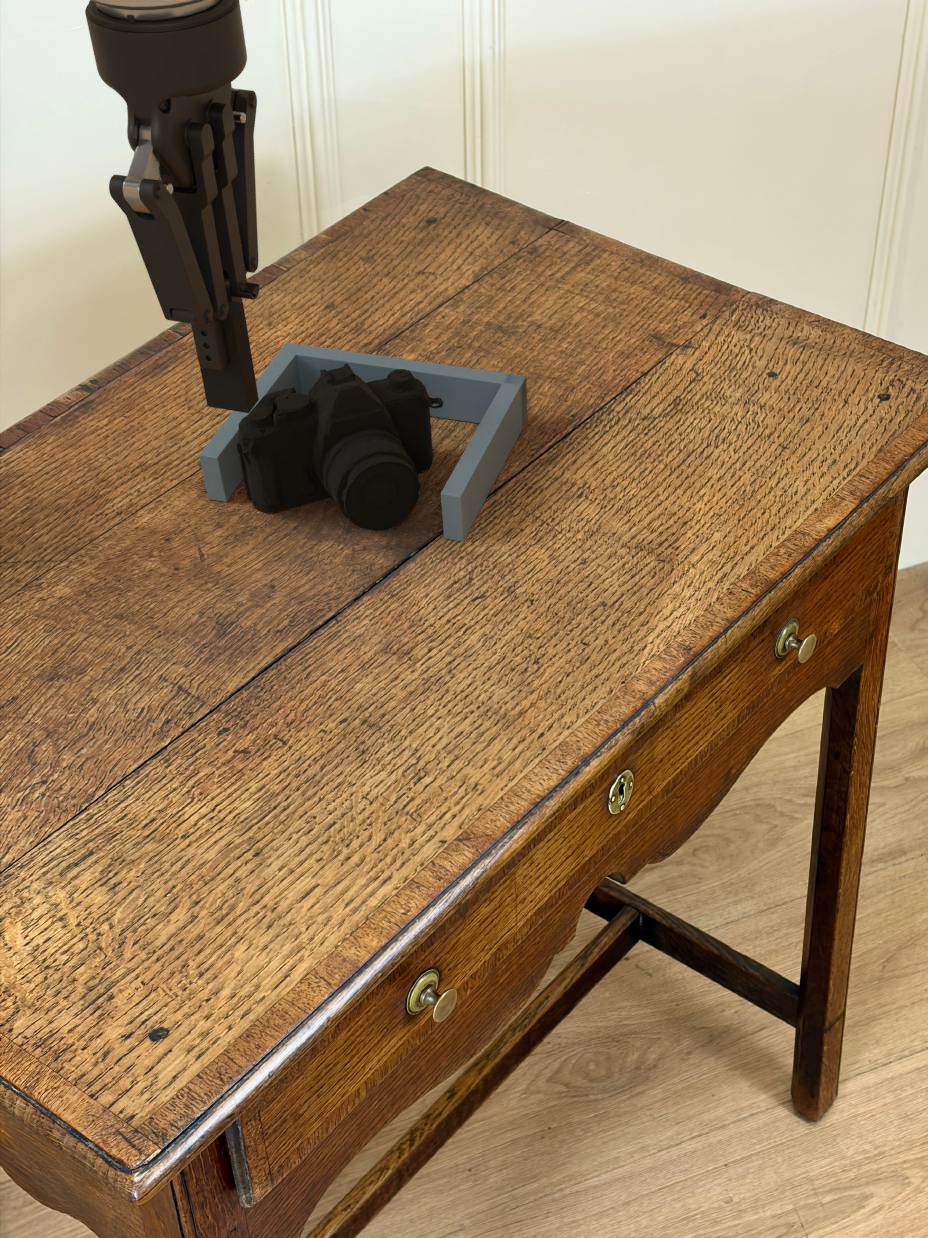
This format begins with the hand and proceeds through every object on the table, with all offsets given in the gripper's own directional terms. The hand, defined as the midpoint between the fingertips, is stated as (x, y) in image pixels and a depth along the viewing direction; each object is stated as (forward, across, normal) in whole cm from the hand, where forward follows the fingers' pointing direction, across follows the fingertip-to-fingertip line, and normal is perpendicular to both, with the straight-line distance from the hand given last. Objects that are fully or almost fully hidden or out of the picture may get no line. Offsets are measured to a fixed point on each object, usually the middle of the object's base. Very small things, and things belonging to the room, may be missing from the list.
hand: (233, 403), depth 88 cm
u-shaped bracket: (+16, +18, -1) cm, 24 cm away
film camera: (+16, +13, -1) cm, 21 cm away
